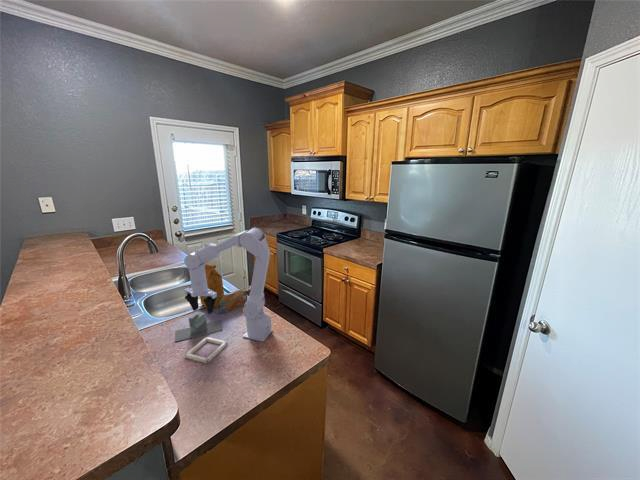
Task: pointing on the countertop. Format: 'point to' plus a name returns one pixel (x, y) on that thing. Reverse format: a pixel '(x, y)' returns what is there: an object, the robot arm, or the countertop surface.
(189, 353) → the pocket frame
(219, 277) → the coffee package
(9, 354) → the countertop surface
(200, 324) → the block
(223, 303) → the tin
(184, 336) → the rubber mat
